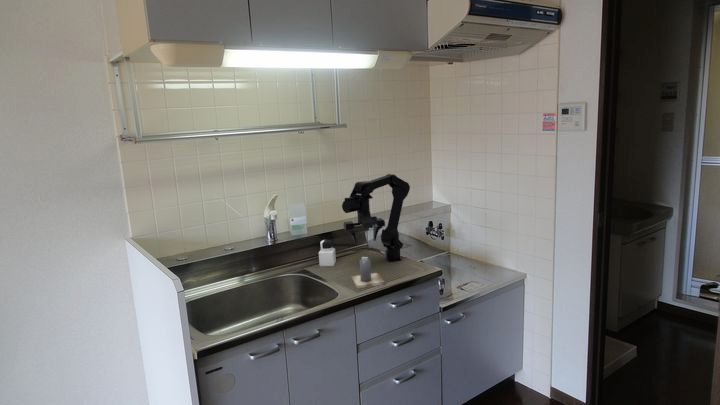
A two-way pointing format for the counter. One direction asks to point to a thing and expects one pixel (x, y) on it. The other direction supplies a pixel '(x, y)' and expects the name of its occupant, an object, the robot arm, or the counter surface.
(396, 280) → the counter surface
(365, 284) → the birch board
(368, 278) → the white-capped grey cylinder
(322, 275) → the counter surface
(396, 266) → the counter surface
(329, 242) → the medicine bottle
